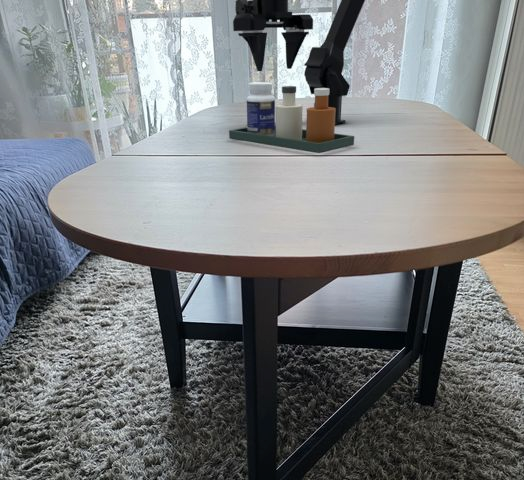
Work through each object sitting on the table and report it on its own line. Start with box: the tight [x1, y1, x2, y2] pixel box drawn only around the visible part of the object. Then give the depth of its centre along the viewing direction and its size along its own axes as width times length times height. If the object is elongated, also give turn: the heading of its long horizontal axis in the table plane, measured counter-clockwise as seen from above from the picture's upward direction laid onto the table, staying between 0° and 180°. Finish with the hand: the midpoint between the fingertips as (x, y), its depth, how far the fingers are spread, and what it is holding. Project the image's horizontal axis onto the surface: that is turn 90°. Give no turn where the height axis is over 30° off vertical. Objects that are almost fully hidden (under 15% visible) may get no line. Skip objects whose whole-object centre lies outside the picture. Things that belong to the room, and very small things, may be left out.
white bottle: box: [275, 85, 304, 140], centre depth 98 cm, size 5×5×10 cm
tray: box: [228, 125, 355, 154], centre depth 100 cm, size 10×24×2 cm, turn 44°
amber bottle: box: [305, 88, 336, 143], centre depth 93 cm, size 5×5×10 cm
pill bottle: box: [246, 81, 276, 136], centre depth 103 cm, size 6×6×10 cm
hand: (274, 69), depth 111 cm, fingers open, 9 cm apart
